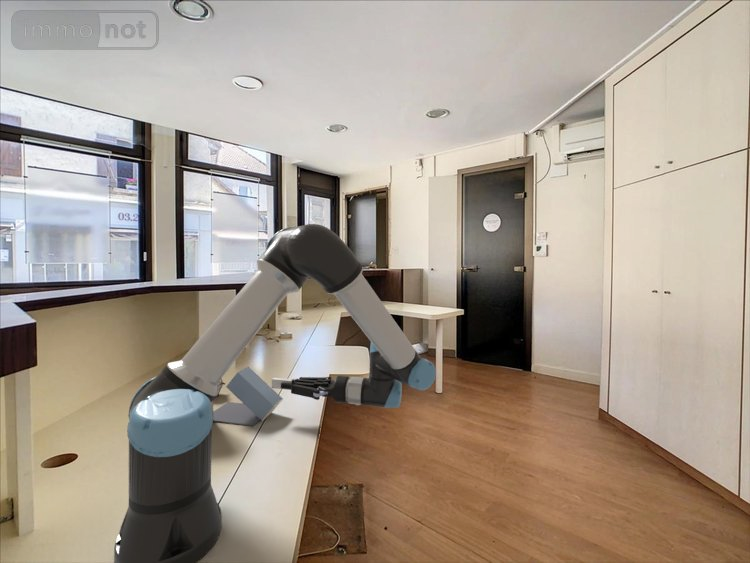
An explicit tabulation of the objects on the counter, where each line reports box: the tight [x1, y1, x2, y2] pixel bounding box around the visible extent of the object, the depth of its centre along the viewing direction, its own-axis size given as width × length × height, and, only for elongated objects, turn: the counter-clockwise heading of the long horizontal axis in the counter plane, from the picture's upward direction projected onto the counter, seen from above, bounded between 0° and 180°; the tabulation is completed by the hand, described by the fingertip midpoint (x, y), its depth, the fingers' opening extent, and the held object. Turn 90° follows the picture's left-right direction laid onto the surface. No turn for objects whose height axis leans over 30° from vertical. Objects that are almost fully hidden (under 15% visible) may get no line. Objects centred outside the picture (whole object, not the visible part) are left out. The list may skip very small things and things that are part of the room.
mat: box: [213, 401, 262, 427], centre depth 104 cm, size 13×16×1 cm
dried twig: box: [217, 378, 226, 397], centre depth 117 cm, size 9×8×10 cm
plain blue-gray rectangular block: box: [226, 366, 284, 422], centre depth 103 cm, size 6×6×15 cm
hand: (272, 382), depth 102 cm, fingers closed
